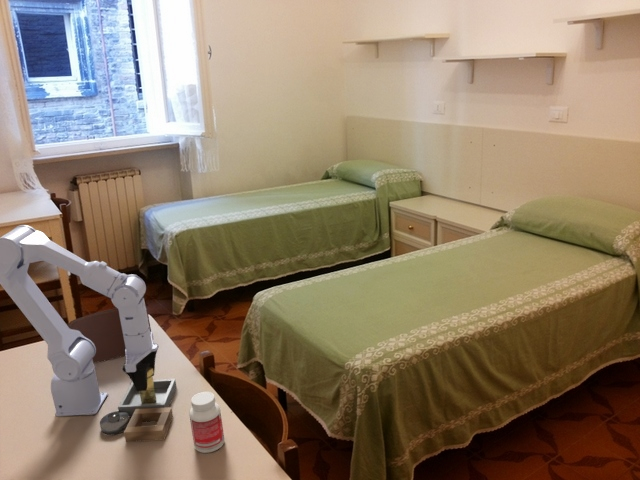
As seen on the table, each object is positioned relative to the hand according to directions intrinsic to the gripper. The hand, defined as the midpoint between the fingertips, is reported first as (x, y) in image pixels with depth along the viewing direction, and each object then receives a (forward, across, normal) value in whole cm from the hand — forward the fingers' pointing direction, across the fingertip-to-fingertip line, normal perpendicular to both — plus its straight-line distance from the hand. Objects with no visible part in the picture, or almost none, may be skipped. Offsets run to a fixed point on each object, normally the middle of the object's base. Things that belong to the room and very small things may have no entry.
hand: (145, 382), depth 130 cm
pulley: (+5, -8, +5) cm, 11 cm away
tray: (+5, 0, 0) cm, 5 cm away
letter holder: (+6, +26, +17) cm, 31 cm away
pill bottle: (+5, -16, -17) cm, 24 cm away
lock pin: (+5, 0, 0) cm, 5 cm away
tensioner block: (+5, -10, -3) cm, 12 cm away
